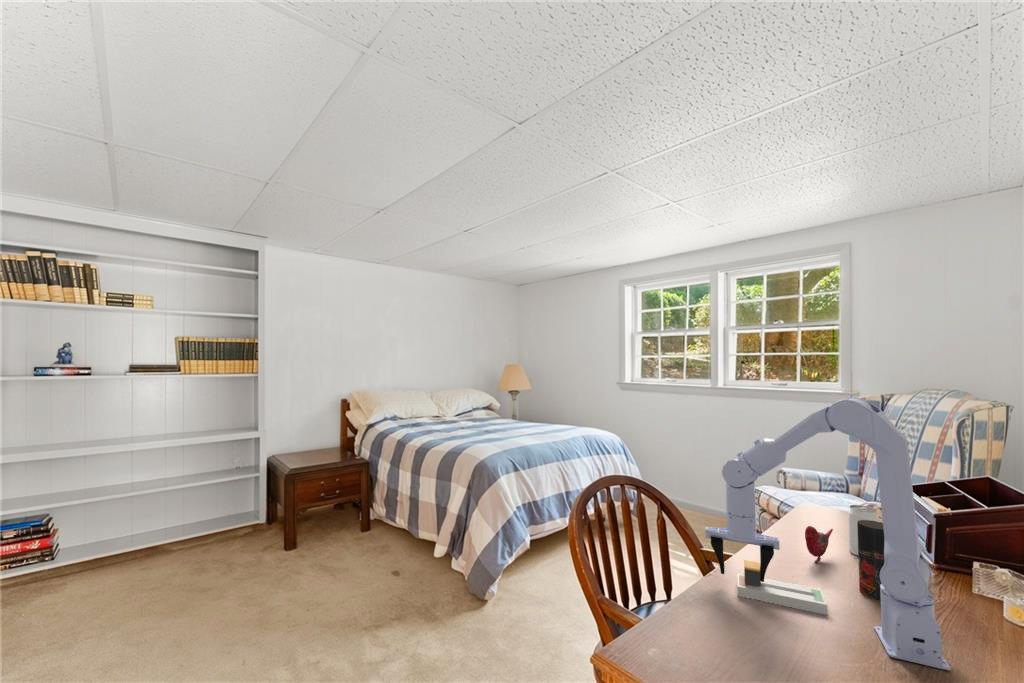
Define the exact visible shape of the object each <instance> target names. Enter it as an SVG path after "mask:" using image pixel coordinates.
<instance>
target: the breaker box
mask: <svg viewBox="0 0 1024 683" xmlns="http://www.w3.org/2000/svg"><path fill="white" fill-rule="evenodd" d="M736 575H737V586H736V587H737V590H736V591H737V597H740V596H743V597H742V598H744V597H748V598H747V599H749V598H752V599H751V600H754V599H757V600H756V601H758V600H761V601H760V602H763V601H765V603H768V602H769V603H768V604H772V603H774V604H773V605H777V604H778V606H782V605H783V606H782V607H787V608H791V607H792V609H798V610H802V611H806V612H810V611H812V612H811V613H816V614H819V615H820V614H821V615H824V616H828V614H829V613H828V603H827V600H826V598H825V595H824V593H823V590H822V589H821V588H818V587H817V588H816V587H811V586H807V585H802V584H795V583H790V582H785V581H780V580H775V579H769V578H765V577H764V582H761V581H760V582H761V586H757V585H752V584H747V583H745V576H744V573H743V574H742V573H736Z"/></svg>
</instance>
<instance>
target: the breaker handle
mask: <svg viewBox="0 0 1024 683" xmlns="http://www.w3.org/2000/svg"><path fill="white" fill-rule="evenodd" d="M743 564H744V566H743V567H744V573H743V574H744V576H745V583H747V584H752V585H757V586H761V582H760V562H758V561H754V560H753V561H752V560H745V559H744V560H743Z"/></svg>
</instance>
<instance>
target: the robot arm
mask: <svg viewBox="0 0 1024 683" xmlns="http://www.w3.org/2000/svg"><path fill="white" fill-rule="evenodd" d="M835 431H838V432H840V433H843V434H845V435H847V436H850V437H853V438H856V439H858V440H859V441H861V442H862V443H863V444H865V446H866V445H867V446H868V447H869V448H870V449H872V450H873V451H874V452H875V454H874V455H875V462H876V470H877V479H878V480H877V481H878V489H879V498H880V507H881V517H882V523H883V528H884V537H885V544H884V558H885V562H884V566H883V567H882V569H881V571H880V581H881V583H882V584H881V585H880V588H881V589H880V594H881V602H880V618H881V620H880V621H881V624H880V625H881V626H878V625H875V626H874V631H875V633H876V634H877V636H878V639H879V640H880V642H881V644H882V646H883V648H884V649H885V651H886V653H887V655H888V656H889V657H890V658H894V659H899V660H903V661H906V662H911V663H915V664H918V665H919V664H920V665H923V666H928V667H933V668H936V669H940V670H946V671H951V666H950V665H949V663H948V662H947V661H946V659H945V657H944V656H943V642H942V641H943V638H942V630H941V627H940V625H939V623H938V621H937V619H936V616H935V597H934V596H933V594H931V592H930V590H929V581H930V580H931V576H932V569H931V567H930V564H929V563H928V561H927V560H926V559H925V557H924V555H923V551H922V550H923V549H922V545H921V543H920V539H919V533H918V524H917V515H916V506H915V496H914V489H913V480H912V472H911V470H912V469H911V462H910V461H911V460H910V454H909V445H908V444H909V443H908V441H907V438H906V437H905V435H904V434H903V433H902V432H901V431H900V430H899V428H897V427H896V425H895V424H894V423H893V422H892V421H891V420H890V419H889V418H888V416H886V415H885V412H883V410H882V409H881V408H880V407H878V406H876V405H874V404H873V403H871V402H870V401H868V400H865V399H864V398H862V397H861V398H860V397H849V398H846V399H840V400H838V401H837V400H836V401H835V402H834V403H832V404H831V405H829V406H826V407H823V408H821V409H820V410H817V411H815V412H813V413H811V414H809V415H808V416H806V417H805V418H804V419H803V420H801V421H800V422H798V423H797V424H795V425H794V426H792V427H791V428H790V429H788V430H787V431H786V432H784V433H782V434H781V435H780V436H778V437H777V438H776V439H773V438H770V437H768V438H767V437H765V438H763V439H762V438H759V439H756V440H755V441H753V444H754V445H752V446H751V447H749V448H748V449H746V451H745V450H744V452H743V451H740V452H738V453H737V454H736V456H737V458H735V459H729V460H727V461H726V462H725V464H724V465H723V466H722V469H721V475H722V478H723V480H724V481H725V482H726V483H725V484H726V486H725V487H726V493H725V495H726V498H725V499H726V504H725V505H726V527H711V526H705V538H706V539H710V544H711V547H712V550H713V552H714V553H715V554H714V555H715V556H716V559H717V561H718V564H719V570H720V575H721V574H722V575H725V557H724V541H729V542H734V543H740V544H747V545H752V546H753V545H754V546H759V552H760V553H759V556H760V557H759V558H760V561H759V563H760V581H761V582H764V578H765V576H766V573H767V569H768V566H769V564H770V562H771V561H772V559H773V558H774V555H775V550H777V551H780V539H779V537H776V536H775V537H774V536H770V535H767V534H762V533H758V532H757V528H756V527H757V526H756V494H755V482H756V481H757V480H758V477H762V476H764V475H765V474H767V473H769V472H770V471H772V470H774V469H775V468H777V467H778V466H780V465H781V464H783V463H785V462H786V460H787V453H788V451H790V450H792V449H794V448H795V447H797V446H799V445H800V444H802V443H804V442H805V441H807V440H809V439H810V438H812V437H814V436H816V435H817V434H819V433H824V434H825V433H834V432H835Z"/></svg>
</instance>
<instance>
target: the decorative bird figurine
mask: <svg viewBox="0 0 1024 683" xmlns="http://www.w3.org/2000/svg"><path fill="white" fill-rule="evenodd" d="M833 531H834V528H831V529H829V530H828V531H827V532H826V533H823V532H820V531H818V530H817V528H816V527H814V526H812V525H811V526H810V525H808V526H807V527H806V528H805V530H804V537H805V543H806V549H807V551H808V552H809V554H810V555H812V556H813V557H816V560H814V562H813V565H815V564H816V565H817V564H819V563H820V562H821V560H822V558H821V557H823V555H824V554H825V553H826V551H827V548H828V546H829V538H830V536H831V534H832V532H833Z"/></svg>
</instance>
